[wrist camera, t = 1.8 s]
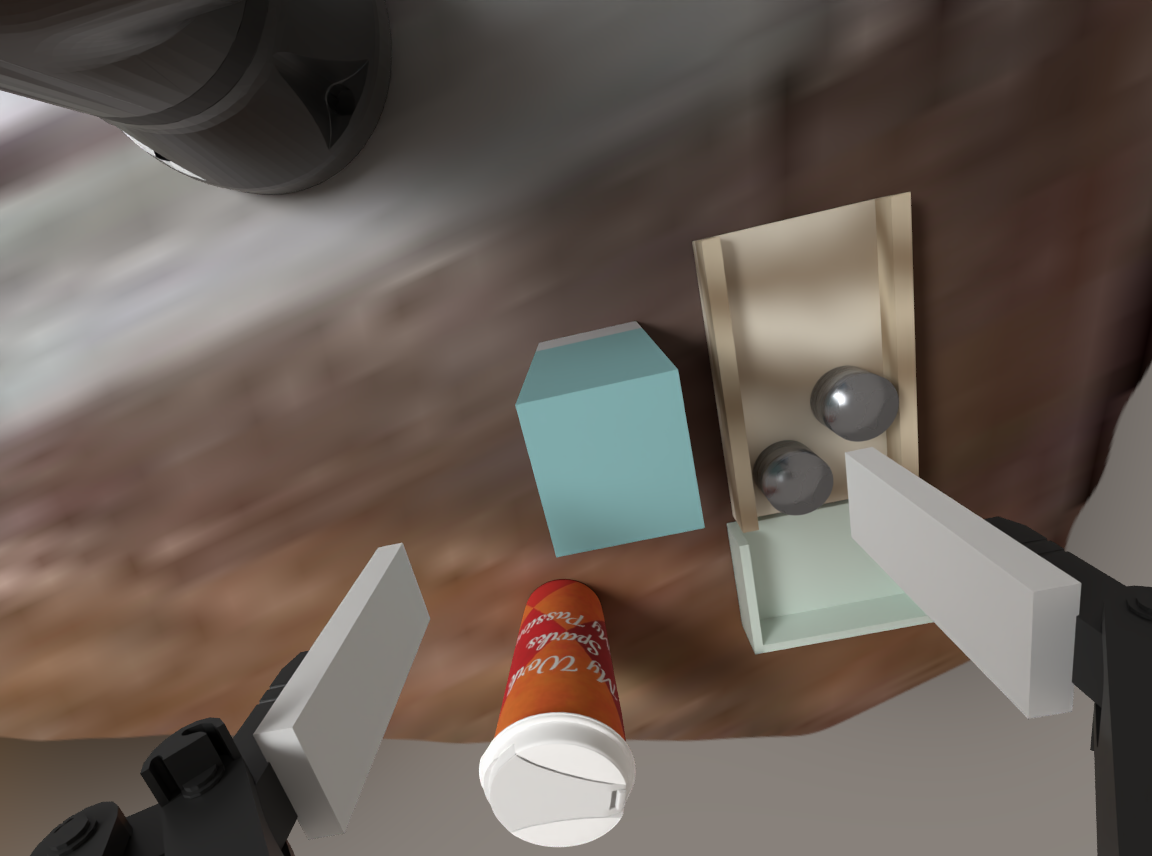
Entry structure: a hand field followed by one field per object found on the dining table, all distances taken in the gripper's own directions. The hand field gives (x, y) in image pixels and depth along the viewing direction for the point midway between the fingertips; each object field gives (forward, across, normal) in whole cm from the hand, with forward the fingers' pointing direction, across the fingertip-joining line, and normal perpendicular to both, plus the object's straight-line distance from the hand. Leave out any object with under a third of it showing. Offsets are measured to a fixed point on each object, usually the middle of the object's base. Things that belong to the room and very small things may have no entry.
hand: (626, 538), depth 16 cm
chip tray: (+19, +12, -16) cm, 28 cm away
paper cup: (+19, -6, -16) cm, 26 cm away
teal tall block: (+19, 0, 0) cm, 19 cm away
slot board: (+19, +12, -2) cm, 23 cm away
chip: (+18, +10, -8) cm, 22 cm away
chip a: (+18, +14, -4) cm, 23 cm away
